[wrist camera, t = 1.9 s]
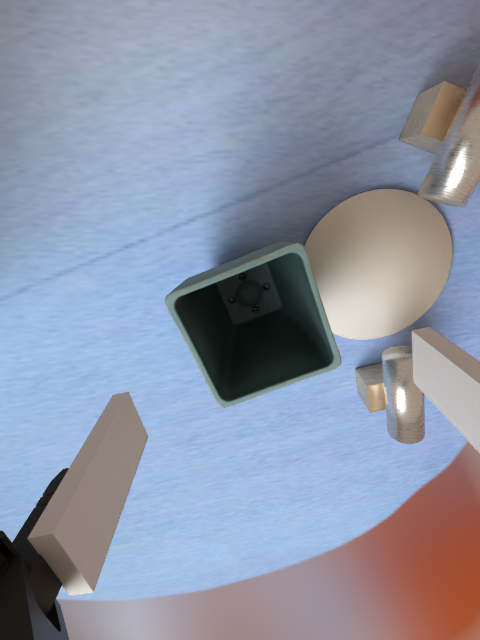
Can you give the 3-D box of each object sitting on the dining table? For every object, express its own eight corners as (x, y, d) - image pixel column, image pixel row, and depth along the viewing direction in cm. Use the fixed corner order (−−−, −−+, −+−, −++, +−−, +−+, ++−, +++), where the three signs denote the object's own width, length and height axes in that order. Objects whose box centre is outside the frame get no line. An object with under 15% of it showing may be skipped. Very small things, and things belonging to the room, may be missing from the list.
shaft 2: (433, 207, 26) (490, 213, 20) (378, 188, 25) (420, 188, 19) (490, 94, 23) (574, 63, 17) (428, 69, 22) (495, 29, 16)
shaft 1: (351, 337, 30) (379, 371, 24) (405, 325, 29) (445, 357, 24) (359, 405, 33) (385, 449, 27) (407, 395, 32) (444, 437, 27)
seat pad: (267, 267, 27) (267, 269, 27) (395, 150, 24) (398, 149, 23) (355, 362, 31) (357, 365, 30) (476, 272, 28) (479, 273, 27)
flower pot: (280, 223, 26) (303, 239, 17) (311, 316, 29) (344, 367, 21) (182, 264, 27) (160, 297, 18) (223, 349, 30) (220, 410, 22)
